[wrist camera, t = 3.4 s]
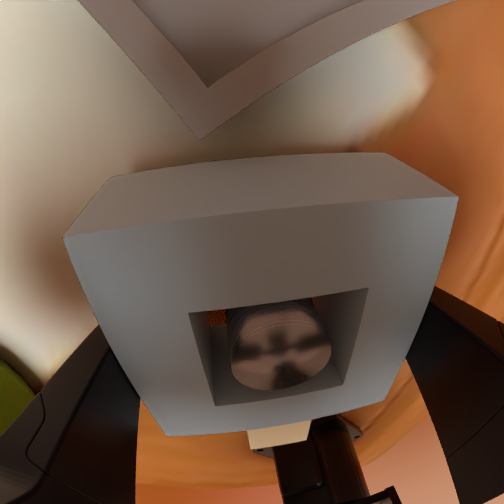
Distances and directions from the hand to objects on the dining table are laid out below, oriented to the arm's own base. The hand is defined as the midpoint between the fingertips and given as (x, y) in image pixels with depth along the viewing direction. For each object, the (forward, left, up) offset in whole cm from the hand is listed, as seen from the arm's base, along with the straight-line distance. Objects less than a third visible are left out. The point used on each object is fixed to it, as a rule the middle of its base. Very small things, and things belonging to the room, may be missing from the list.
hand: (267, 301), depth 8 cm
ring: (0, 0, -1) cm, 1 cm away
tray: (+11, -8, -2) cm, 14 cm away
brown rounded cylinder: (0, 0, -2) cm, 2 cm away
